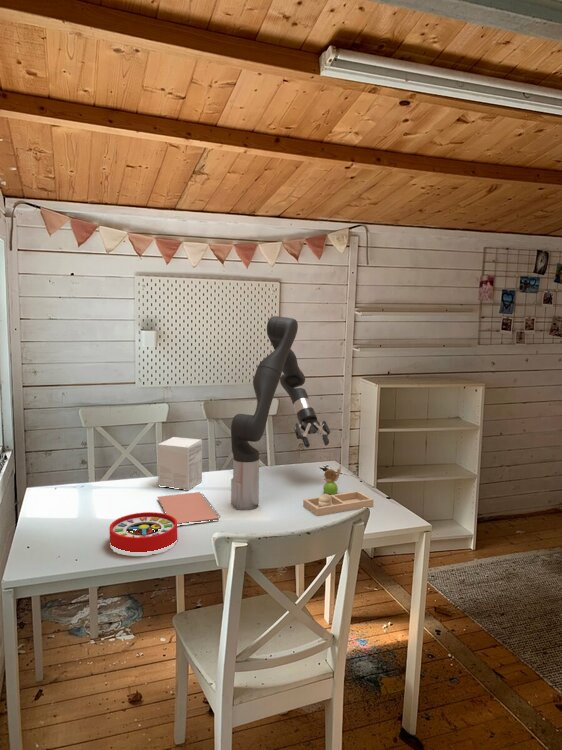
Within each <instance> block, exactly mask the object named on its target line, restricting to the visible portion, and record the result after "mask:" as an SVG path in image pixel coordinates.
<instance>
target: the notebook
mask: <svg viewBox="0 0 562 750" xmlns="http://www.w3.org/2000/svg"><path fill="white" fill-rule="evenodd" d="M203 496H204V497H203ZM157 499H159V501H160V503H161V505H162V506H161V505H160V506H161V508H162V507H163V508H162V510H163V509H164V510H163V512H164V511H165V512H166V514H167V515H170V516H172V517H174V518H175V519H176V520H177V524H182V523H189V522H201V521H209V520H210V521H213V520H219V518H220V517H221V515H220V514H219V513H218V511H217V510H216V509H215V507H214V506H213V505H212V503H211V502H210V501H209V499H208V498H207V497H206V496H205V494H204V493H202V492H201V491H197V492H196V491H195V492H186V493H180V494H179V493H178V494H171V495H170V494H169V495H161V496H157ZM159 501H158V502H159ZM160 503H159V504H160ZM210 505H211V506H210ZM212 508H213V509H212ZM165 512H164V513H165ZM218 516H219V517H218Z"/></svg>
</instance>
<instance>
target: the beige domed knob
mask: <svg viewBox="0 0 562 750" xmlns="http://www.w3.org/2000/svg"><path fill="white" fill-rule="evenodd" d="M318 497H319V504H318V507H324V506H330V505H332V499H331V497H330V495H328V494H325V493H322V494H320V495H319V496H318Z"/></svg>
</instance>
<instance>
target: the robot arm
mask: <svg viewBox="0 0 562 750" xmlns="http://www.w3.org/2000/svg"><path fill="white" fill-rule="evenodd" d="M298 329H299V325H298V320H296V319H295V318H293V317H285V316H284V317H283V316H278V315H277V316H275V315H273V316H271V317H269V319H268V321H267V324H266V333H267V334H266V335H267V337H268V340H269V341H270V343H271V345H272V347H273V349H274V350H273V351H272V352H270V353H269V354H268V355H267V356H266V357H264V358H263V359H262V360H260V362H259V364H258V365H257V367H256V370H255V373H254V377H253V379H252V385H253V390H254V394H255V397H256V408H255V412H254V414H245V413H238V414H235V415H234V416H233V419H232V420H231V425H230V438H231V439H230V440H231V451H232V456H233V460H232V461H233V462H232V463H233V468H232V469H233V470H232V471H233V472H232V474H233V477H232V478H231V479H230V487H231V488H230V504H231V506H232V507H233V508H234V509H236V510H241V511H243V510H244V511H245V510H246V511H247V510H248V511H249V510H253V509H257V508H258V507H259V506H260V505H259V502H260V496H259V495H260V452H259V450H258V449H257V448H255V447H253V445H251V444H250V442H252V443H253V442H255V443H257V442H259V441H260V440H261V439H262V437H263V435H264V433H265V430H266V427H267V422H268V417H269V414H270V409H271V406H272V402H273V399H274V397H275V393H276V391H277V387H278V385H279V383H280V385H281V387H282V388H283V389H284V391H285V392H286V393H287V394H288V396H289V398H290V400H291V403H292V406H293V410H294V413H295V415H296V417H297V421H298V423H297V422H296V423H295V425H294V426H293V429H294V432H295V433H294V434H295V435H296V439H297V440H302V442H303V445H304V447H306V448H310V446H311V444H310V442H309V441H310V440H309V439H308V437H307V435H312V434H316V435H318V436H321V438H322V441H323V444H324V446H328V445H329V444H330V439H329V437H328V436H330V434H331V430H330V428H329V426H328V424H327V422H326V421H325V420H323V421H321V422H319V420H318V417H317V414H316V411H315V408H314V406H313V404H312V402H311V399H310V398H309V396H308V392H307V391H306V389H304V388H302V387H301V386H303V385H304V384H305V383H306V376H305V374H304V373H303V371H302V370H301V368H300V367H299V363H298V358H297V356H296V354H295V352H294V351H293V350H292V346H293V344H294V341H295V339H296V337H297V335H298ZM282 373H283V374H282ZM301 430H303V432H302V431H301Z"/></svg>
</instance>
